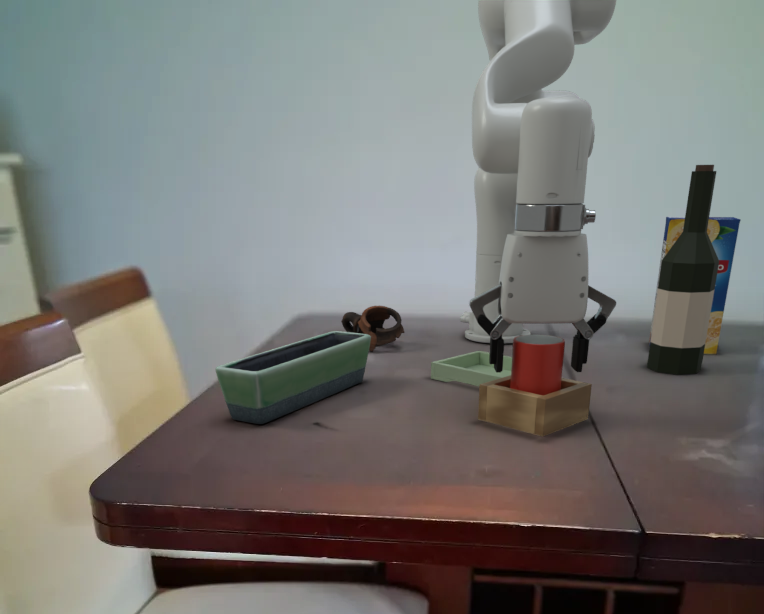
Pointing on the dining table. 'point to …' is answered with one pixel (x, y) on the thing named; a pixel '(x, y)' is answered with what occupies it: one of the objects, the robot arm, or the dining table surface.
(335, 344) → the planter
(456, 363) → the tray
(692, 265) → the wine bottle
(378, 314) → the pottery mug
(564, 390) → the box
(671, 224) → the beverage box
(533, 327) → the dining table surface
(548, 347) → the can
